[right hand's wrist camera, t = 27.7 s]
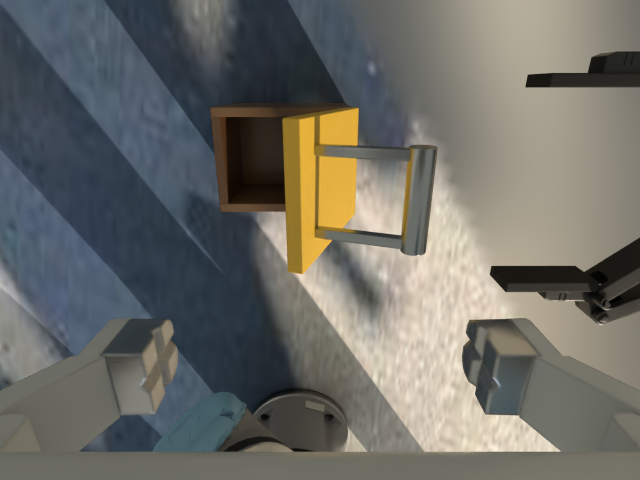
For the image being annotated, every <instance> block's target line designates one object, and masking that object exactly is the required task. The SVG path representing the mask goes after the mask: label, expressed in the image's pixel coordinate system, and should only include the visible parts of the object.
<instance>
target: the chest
mask: <svg viewBox="0 0 640 480" xmlns="http://www.w3.org/2000/svg"><path fill="white" fill-rule="evenodd" d="M346 107H351V106H349V105H347V104H346V103H231V104H226V105H220V106H214V107H210V114H211V124H212V133H213V143H214V152H215V162H216V171H217V181H218V190H219V200H220V209H221V212H229V211H286V204H285V177H284V149H283V122H282V119H283V118H286V117H292V116H298V115H304V114H310V113H316V112H322V111H328V110H334V109H340V108H346Z"/></svg>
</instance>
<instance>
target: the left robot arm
mask: <svg viewBox="0 0 640 480" xmlns="http://www.w3.org/2000/svg"><path fill="white" fill-rule="evenodd" d="M526 87H640V52H610V53H602V54H599V55H596V56H594V57H592V58H591V62H590V66H589V70H588V73H547V74H531V75H528V77H527V82H526ZM490 275H491V276H492V278H493V279H494V280H495V281H496V282H497V283H498V284H499V285H500V286H501V287H502V288H503V290H504V291H505V292H538V293H539V294H540V295H541V296H542V297H543V298H545V299H547V300H549V301H575V304H576V306H577V307H578V308H579V309H580V310H582V311H583V312H584V313H585V314H586V315H588V316H589V317H590V318H591V319H592V320H593V321H595V322H596V323H597V324H599V325H604V324H608V323H610V322H613V321H616V320H618V319H621V318H624V317H626V316H629V315H632V314H635V313H637V312H640V238H638V239H637V240H635V241H634V242H632V243H630V244H629V245H627V246H626V247H624V248H622V249H621V250H619V251H618V252H616V253H614V254H613V255H611V256H609V257H608V258H606V259H605V260H603V261H602V262H600V263H598V264H597V265H595V266H593V267H592V268H590V269H589V270H587V271H585V272H583V271H582V270H580V269H579V268H577V267H576V266H491V271H490ZM599 284H601V285H599ZM246 407H247V405H246V403H245V402H241V401H240V400H239V399H238V398H237V397H236V396H235V395H234V394H232V393H230V392H218V393H215V394H212V395H210V396H208V397H206V398H205V399H203V400H201V401H200V402H198V403H196V404H195V405H194V406H192V407H191V408H190V409H189V410H188V411H186V412H185V413H184V414H183V415H182V416H181V417H180V418H179V419H178V420H177V421H176V422H175V423H174V424H173V425H172V426H171V427H170V428H169V429H168V430H167V431H166V433H165V434H164V435H163V436H162V438H161V439H160V440H159V441H158V443H157V444H156V446H155V447H154V449H153V451H152V452H344V451H345V447H346V444H347V436H348V429H347V420H346V417H345V414H344V412H343V410H342V409H341V408H340V406H339V405H338V404H337V403H336V402H334V401H333V400H332V399H330V398H329V397H327V396H325V395H323V394H321V393H318V392H315V391H310V390H304V389H292V390H285V391H281V392H278V393H275V394H273V395H270V396H269V397H267V398H265V399H264V400H263V401H262V402H260V403H259V404H258V406H257V407H256V408H255V410H254V411H253V413H252V414H251V412H250V411H249V410H248V409H247V408H246Z"/></svg>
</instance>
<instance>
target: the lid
mask: <svg viewBox="0 0 640 480" xmlns="http://www.w3.org/2000/svg"><path fill="white" fill-rule="evenodd" d="M358 110H359V108H355V107H346V108H340V109H334V110H328V111H322V112H316V113H310V114H304V115H298V116H292V117H286V118H283V119H282V122H283V149H284V177H285V204H286V231H287V259H288V272H292V273H298V274H303V273H304V272H305V271H306V270H307V269H308V268H309V266H310V265H311V264H312V263H313V262H314V261H315V259H316V258H317V257H318V256H319V255H320V254H321V253H322V251H323V250H324V249H325V248H326V247H327V246H328V244H329V243H330V242H331V241H332V240H335V241H343V242H351V243H358V244H366V245H373V246H381V247H389V248H396V249H400V250H401V252H402V253H404V254H407V255H411V256H420V255H423V254H425V252H426V245H427V236H428V227H429V219H430V210H431V201H432V193H433V184H434V175H435V166H436V158H437V149H438V148H437V147H436V146H431V145H412V146H409V148H399V147H379V146H358V145H357V138H358ZM357 159H372V160H389V161H406V162H408V164H407V176H406V187H405V199H404V210H403V222H402V234H401V235H392V234H384V233H376V232H367V231H359V230H351V229H342V228H343V227H344V226H345V225H346V223H347V222H348V221H349V220H350V219H351V218H352V216H353V215H354V214H355V194H356V166H357Z"/></svg>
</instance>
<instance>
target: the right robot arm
mask: <svg viewBox="0 0 640 480" xmlns="http://www.w3.org/2000/svg"><path fill="white" fill-rule="evenodd" d="M173 334H174V329H173V325H172V322H171V321H170V320H169V319H131V318H123V319H112V320H110V321H109V322H108V323H107V324H106V325H105V326H104V327H103V328H102V330H101V331H100V332H99V333H98V334H97V335H96V336H95V337H94V338H93V339H92V340H91V341H90V343H89V344H88V345H87V346H86V347H85V348H84V349H83V350H82V351H81V352H80V353H79V355H78V356H70V357H68V358H66V359H64V360H62V361H60V362H58V363H56V364H54V365H52V366H50V367H48V368H46V369H43V370H41V371H39V372H37V373H35V374H33V375H31V376H29V377H27V378H25V379H23V380H21V381H19V382H17V383H15V384H13V385H11V386H9V387H6V388H4V389H2V390H0V480H640V390H637V389H635V388H633V387H631V386H629V385H627V384H625V383H623V382H621V381H619V380H617V379H615V378H613V377H611V376H609V375H607V374H605V373H603V372H600V371H598V370H596V369H594V368H592V367H590V366H588V365H586V364H584V363H582V362H580V361H578V360H576V359H574V358H572V357H570V356H562V355H561V354H560V353H559V351H558V350H557V349H556V348H555V347H554V346H553V345H552V344H551V343H550V341H549V340H548V339H547V338H546V337H545V336H544V335H543V334H542V333H541V332H540V331H539V329H538V328H537V327H536V326H535V325H534V324H533V323H532V322H531V321H530V320H528V319H526V318H517V319H489V320H469V322H468V324H467V329H466V334H467V336H468V337H469V339H470V340H469V341H468V342H467V343H466V344H465V345H464V346H463V353H462V362H463V369H464V372H465V375H466V377H467V379H468V381H469V382H470V383H472V384H473V385H474V386H476V391H475V395H476V397H477V399H478V401H479V403H480V405H481V407H482V409H483V411H484V413H485V414H490V415H520V418H521V419H523V420H524V421H525V422H526V423H527V424H529V425H530V426H531V427H532V428H533V429H535V430H536V431H537V432H538V433H540V434H541V435H542V436H543V437H544V438H546V439H547V440H548V441H549V442H550V443H552V444H553V445H554V446H555V447H556V448H558V449H559V450H560V451H561V452H79V451H80V450H81V449H82V448H84V447H85V446H86V445H87V444H89V443H90V442H91V441H92V440H93V439H95V438H96V437H97V436H98V435H99V434H101V433H102V432H103V431H104V430H105V429H107V428H108V427H109V426H110V425H112V424H113V423H114V422H115V421H116V420H118V419H119V418H120V415H149V414H155V413H156V411H157V409H158V407H159V405H160V403H161V401H162V399H163V397H164V395H165V391H164V386H166V385H167V384H168V383H170V382H171V381H172V379H173V377H174V375H175V373H176V368H177V364H178V352H177V346H176V345H175V344H174V343H173V342H172V341H171V340H170V339H171V337H172V336H173Z"/></svg>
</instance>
